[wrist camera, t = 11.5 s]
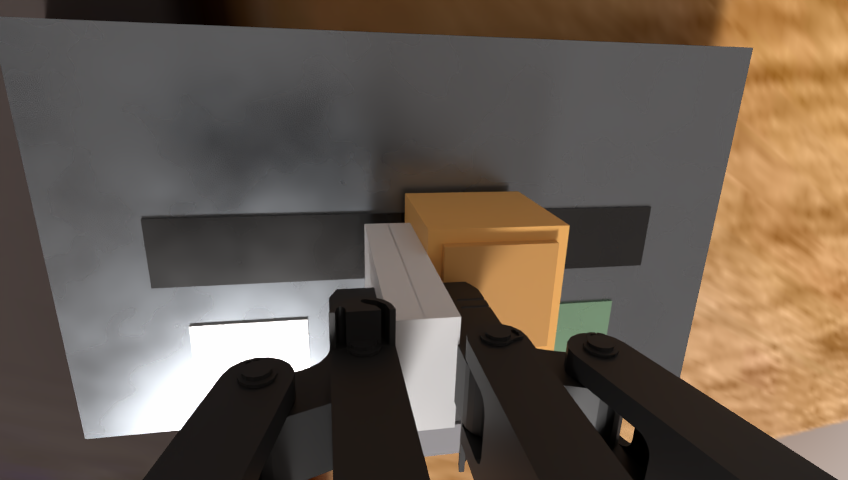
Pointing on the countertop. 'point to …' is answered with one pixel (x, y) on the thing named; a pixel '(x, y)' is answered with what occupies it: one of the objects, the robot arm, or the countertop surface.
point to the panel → (341, 183)
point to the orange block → (497, 253)
